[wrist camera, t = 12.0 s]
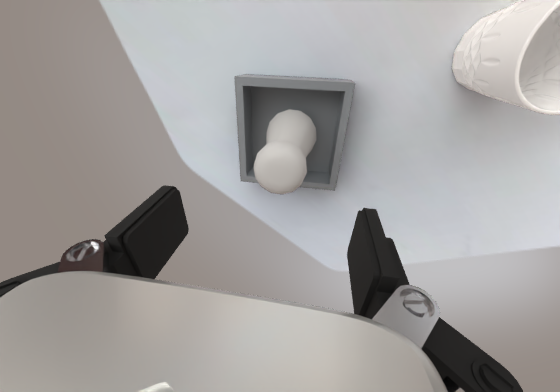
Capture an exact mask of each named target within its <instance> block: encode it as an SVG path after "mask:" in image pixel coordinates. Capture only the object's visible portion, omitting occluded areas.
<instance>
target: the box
mask: <svg viewBox="0 0 560 392" xmlns="http://www.w3.org/2000/svg"><path fill="white" fill-rule="evenodd" d="M354 87H355V82H353V81H352V80H348V79H328V78H309V77H290V76H270V75H251V74H244V75H239V76H235V92H236V109H237V126H238V143H239V160H240V177H241V181H243V182H253V183H259V182H258V181H257V180H256V178H255V173H254V163H255V160H256V156H257V153H258V152H259V151H260V150H261V149H262V148H263V147H264V146H265V145H266V136H267V129H268V126H269V122H270V121H271V120H272V119H273V118H274V117H275V116H276V115H277V114H278V113H280V112H283V111H286V110H289V109H291V110H298V111H301V112H303V113H304V114H306V115H307V116H309V117H310V118H311V120H312V122H313V124H314V126H315V127H316V139H317V140H316V142H315V144H314V146H313V148H312V150H311V152H310V153H309V154H308V156H307V157H306V166H307V173H306V176H305V178H304V180H303V182H302V184H301V186H299V187H304V188H314V189H324V190H334V191H335V188H336V183H337V178H338V172H339V167H340V162H341V156H342V151H343V146H344V140H345V135H346V130H347V124H348V119H349V114H350V108H351V103H352V98H353V92H354Z"/></svg>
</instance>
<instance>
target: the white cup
mask: <svg viewBox="0 0 560 392" xmlns="http://www.w3.org/2000/svg"><path fill="white" fill-rule="evenodd" d="M452 70H453V73H454V76H455V79H456V81H457V82H458V83H460V84H461V85H462V86H464V87H465V88H467V89H469V90H473V91H476V92H478V93H480V94H483V95H485V96H489V97H491V98H494V99H497V100H500V101H503V102H506V103H510V104H513V105H516V106H519V107H523V108H526V109H529V110H532V111H535V112H539V113H542V114H549V115H560V0H522V1H520V2H517V3H514V4H512V5H510V6H509V7H506V8H503V9H501V10H498V11H496V12H494V13H492V14H489V15H487V16H485V17H483V18H481V19H480V20H479V21H478V22H476V23H475V24H474V25H473V26H472V27H471V28H470V29H469V30H468V31H467V32H466V33H465V34H464V35H463V37H462V39H461V41H460V42H459V44H458V46H457V48H456V49H455V51H454V57H453V63H452Z"/></svg>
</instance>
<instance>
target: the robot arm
mask: <svg viewBox="0 0 560 392" xmlns="http://www.w3.org/2000/svg"><path fill="white" fill-rule="evenodd" d="M187 234H188V224H187V220H186V216H185V212H184V208H183V204H182V199H181V195H180V192H179V190H177V188H176V187H174V186H162V187H161V188H160V189H159V190H157V191H156V192H155V193H154V194H153V195H151V196H150V197H149V198H148V199H147V200H146V201H144V202H143V203H142V204H141V205H140V206H139V207H137V208H136V209H135V210H134V211H133V212H132V213H130V214H129V215H128V216H127V217H126V218H124V219H123V220H122V221H121V222H120V223H119V224H117V225H116V226H115V227H114V228H113V229H112V230H110V231H109V232H108V233H107V234H106V235H105V238H106V240H105V241H104V242H102V241H101V240H97V239H90V240H85V241H82V242H79V243H77V244H75V245H73V246H71V247H70V248H69V249H67V250H66V251H65V252H64V253H63V255H62V257H61V260H60V262H58V263H55V264H52V265H49V266H46V267H43V268H40V269H37V270H34V271H31V272H28V273H25V274H22V275H20V276H17V277H14V278H11V279H8V280H6V281H3V282H1V283H0V392H523V390H522V388H521V387H520V385H519V383H518V382H517V380H516V379H515V378H514V377H513V376H512V374H511V373H510V372H509V371H508V370H507V369H505V368H504V367H503V366H502V365H501V364H500V363H498V362H497V361H496V360H494V359H493V358H492V357H491V356H489V355H488V354H487V353H485V352H484V351H483V350H481V349H480V348H479V347H477V346H476V345H475V344H474V343H472V342H471V341H470V340H468V339H467V338H466V337H464V336H463V335H462V334H460V333H459V332H458V331H457V330H455V329H454V328H453V327H451V326H450V325H449V324H447V323H446V322H445V321H444V320H442V319H441V318H440V317H439V315H440V310H439V306H438V305H437V303H436V301H435V300H434V299H433V298H432V297H431V295H429V294H428V293H427V292H425V291H424V290H422V289H420V288H418V287H415V286H412V285H409V282H408V279H407V277H406V274H405V271H404V269H403V266H402V263H401V260H400V258H399V255H398V252H397V250H396V247H395V244H394V242H393V240H392V239H391V238H386V237H385V234H384V231H383V228H382V225H381V222H380V219H379V216H378V213H377V211H376V209H368V208H363V210H362V211H360V210H359V211H358V214H357V218H356V221H355V225H354V229H353V232H352V236H351V240H350V243H349V247H348V252H347V258H348V266H349V274H350V282H351V290H352V298H353V306H354V314H352V313H348V312H343V311H339V310H334V309H329V308H324V307H318V306H313V305H307V304H302V303H296V302H290V301H284V300H278V299H272V298H266V297H261V296H254V295H248V294H243V293H236V292H230V291H224V290H218V289H211V288H205V287H199V286H193V285H187V284H181V283H175V282H167V281H162V280H155V278H156V276H157V275H158V274H159V272H160V271H161V269H162V268H163V266H164V265H165V264H166V263H167V261H168V260H169V258H170V257H171V256H172V254H173V253H174V252H175V250H176V249H177V248H178V246H179V245H180V243H181V242H182V241H183V239H184V238H185V236H186V235H187Z"/></svg>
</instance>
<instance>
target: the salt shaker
mask: <svg viewBox="0 0 560 392" xmlns="http://www.w3.org/2000/svg"><path fill="white" fill-rule="evenodd" d="M316 140H317V139H316V127H315V126H314V124H313V122H312V120H311V118H310V117H309V116H307V115H306V114H304V113H303V112H301V111H298V110H291V109H289V110H286V111H283V112H280V113H278V114H277V115H276V116H275V117H274V118H273V119H272V120H271V121H270V122H269V126H268V129H267V136H266V145H265V146H264V147H263V148H262V149H261V150H260V151H259V152H258V153H257V156H256V160H255V163H254V173H255V178H256V180H257V181H258V182H259V184H260V185H261V186H262V187H263V188H264V189H266V190H268V191H269V192H271V193H276V194H286V193H290V192H293V191H294V190H296V189H297V188H298V187H299V186H301V184H302V182H303V180H304V178H305V176H306V173H307V166H306V157H307V156H308V154H309V153H310V152H311V150H312V148H313V146H314V144H315V142H316Z"/></svg>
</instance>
